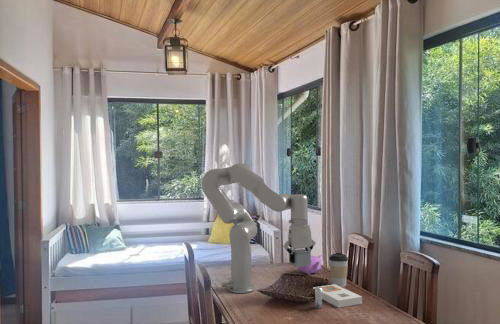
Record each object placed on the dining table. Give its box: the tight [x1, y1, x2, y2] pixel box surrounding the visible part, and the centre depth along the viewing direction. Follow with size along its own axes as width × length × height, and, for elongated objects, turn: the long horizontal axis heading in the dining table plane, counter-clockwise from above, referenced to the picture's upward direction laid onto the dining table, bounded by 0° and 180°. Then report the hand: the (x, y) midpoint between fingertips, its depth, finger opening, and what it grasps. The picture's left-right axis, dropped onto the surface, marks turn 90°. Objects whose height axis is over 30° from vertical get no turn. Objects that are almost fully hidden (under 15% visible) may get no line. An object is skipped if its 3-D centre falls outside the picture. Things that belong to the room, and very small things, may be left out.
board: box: [312, 284, 363, 309], centre depth 193 cm, size 12×20×3 cm, turn 24°
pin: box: [314, 286, 323, 309], centre depth 183 cm, size 3×3×8 cm
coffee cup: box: [328, 252, 349, 288], centre depth 214 cm, size 9×9×15 cm
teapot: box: [297, 254, 323, 276], centre depth 236 cm, size 18×13×10 cm
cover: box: [288, 248, 312, 268], centre depth 197 cm, size 7×7×6 cm
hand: (299, 261), depth 197 cm, fingers closed on cover, 7 cm apart
